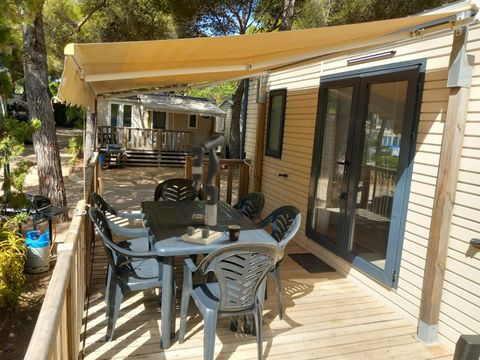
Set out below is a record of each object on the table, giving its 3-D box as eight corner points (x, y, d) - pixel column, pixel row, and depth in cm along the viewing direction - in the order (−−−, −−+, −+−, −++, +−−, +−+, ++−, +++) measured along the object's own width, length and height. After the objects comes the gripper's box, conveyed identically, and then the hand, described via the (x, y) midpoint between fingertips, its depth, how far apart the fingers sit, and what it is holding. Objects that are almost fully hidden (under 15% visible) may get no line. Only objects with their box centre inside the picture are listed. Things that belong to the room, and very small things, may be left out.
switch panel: (198, 232, 293) (198, 228, 293) (221, 236, 286) (221, 232, 285) (181, 240, 271) (181, 235, 271) (206, 244, 264) (206, 240, 263)
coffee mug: (238, 238, 282) (239, 225, 280) (240, 242, 273) (241, 228, 272) (223, 238, 280) (223, 225, 279) (224, 242, 272) (225, 228, 270)
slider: (204, 235, 273) (204, 229, 272) (209, 236, 271) (209, 229, 270) (201, 237, 269) (201, 230, 269) (206, 237, 268) (206, 231, 267)
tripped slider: (189, 233, 277) (189, 226, 277) (194, 234, 276) (194, 227, 275) (187, 234, 274) (187, 227, 273) (191, 235, 272) (192, 228, 272)
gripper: (197, 171, 296) (196, 193, 299) (188, 173, 284) (187, 195, 287) (205, 172, 293) (205, 194, 296) (197, 173, 281) (196, 196, 284)
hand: (196, 194), depth 291 cm, fingers closed
